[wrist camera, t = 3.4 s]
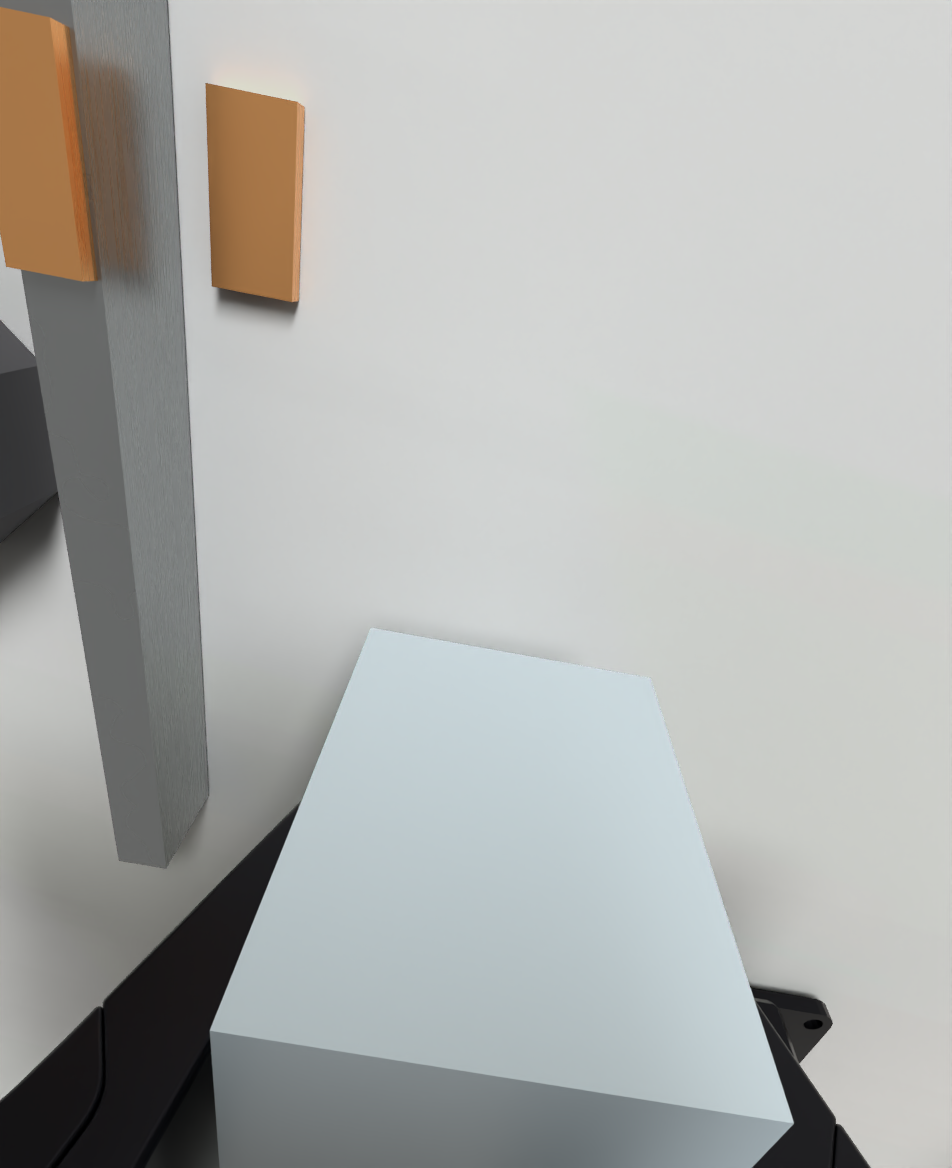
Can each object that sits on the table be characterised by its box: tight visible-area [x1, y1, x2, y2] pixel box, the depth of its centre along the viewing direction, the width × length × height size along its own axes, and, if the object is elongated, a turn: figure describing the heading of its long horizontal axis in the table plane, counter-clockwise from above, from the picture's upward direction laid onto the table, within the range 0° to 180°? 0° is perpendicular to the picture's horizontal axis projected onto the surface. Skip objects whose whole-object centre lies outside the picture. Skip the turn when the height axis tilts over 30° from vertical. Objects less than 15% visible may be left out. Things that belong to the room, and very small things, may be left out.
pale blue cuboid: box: [210, 628, 794, 1168], centre depth 7 cm, size 5×4×5 cm
